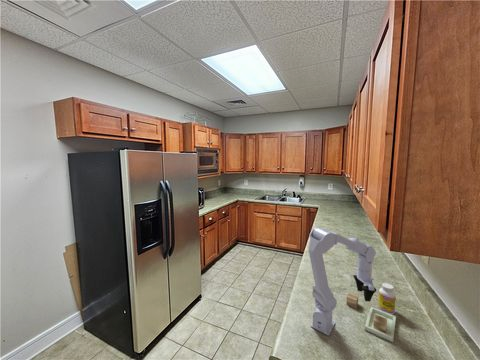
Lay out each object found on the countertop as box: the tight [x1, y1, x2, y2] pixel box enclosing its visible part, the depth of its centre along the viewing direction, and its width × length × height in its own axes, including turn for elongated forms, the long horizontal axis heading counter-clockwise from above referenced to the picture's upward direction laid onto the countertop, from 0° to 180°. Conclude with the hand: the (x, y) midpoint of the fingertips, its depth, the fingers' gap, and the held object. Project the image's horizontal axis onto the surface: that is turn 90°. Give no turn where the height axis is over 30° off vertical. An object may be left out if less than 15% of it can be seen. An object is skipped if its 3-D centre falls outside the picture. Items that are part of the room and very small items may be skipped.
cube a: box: [373, 314, 387, 334], centre depth 89 cm, size 4×4×4 cm
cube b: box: [346, 292, 359, 309], centre depth 106 cm, size 4×4×4 cm
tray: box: [364, 306, 397, 344], centre depth 92 cm, size 16×10×2 cm, turn 139°
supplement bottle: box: [378, 282, 397, 315], centre depth 101 cm, size 7×7×13 cm
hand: (363, 295), depth 98 cm, fingers open, 7 cm apart
